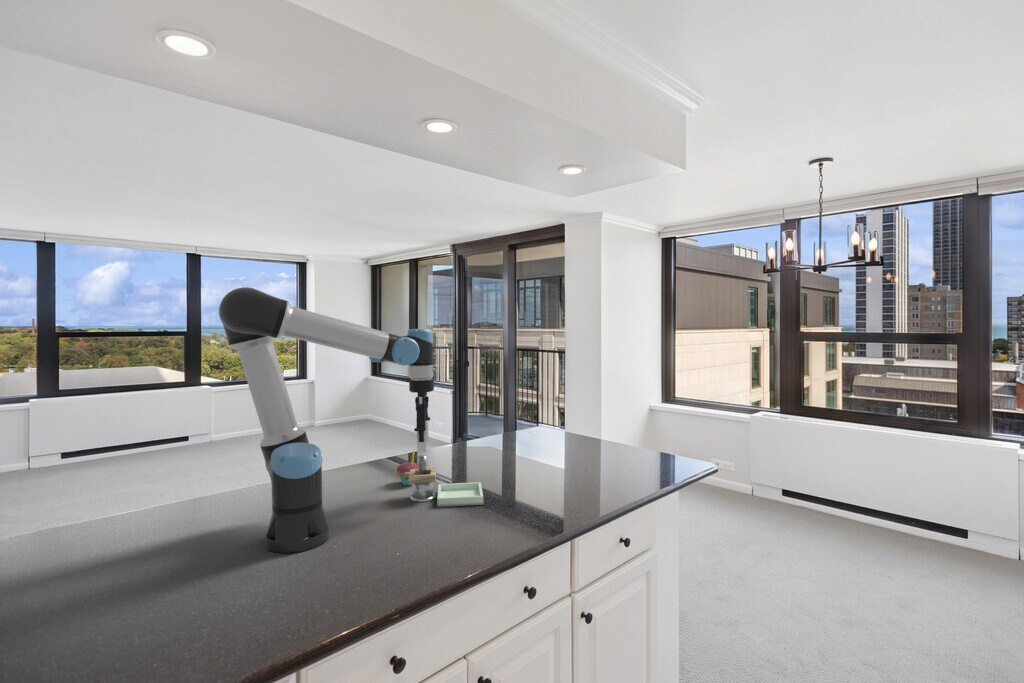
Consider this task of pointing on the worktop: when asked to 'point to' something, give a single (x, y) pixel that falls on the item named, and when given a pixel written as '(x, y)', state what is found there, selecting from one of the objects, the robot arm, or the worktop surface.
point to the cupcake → (406, 469)
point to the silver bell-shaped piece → (422, 485)
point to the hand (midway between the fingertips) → (423, 446)
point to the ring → (420, 476)
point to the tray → (459, 494)
